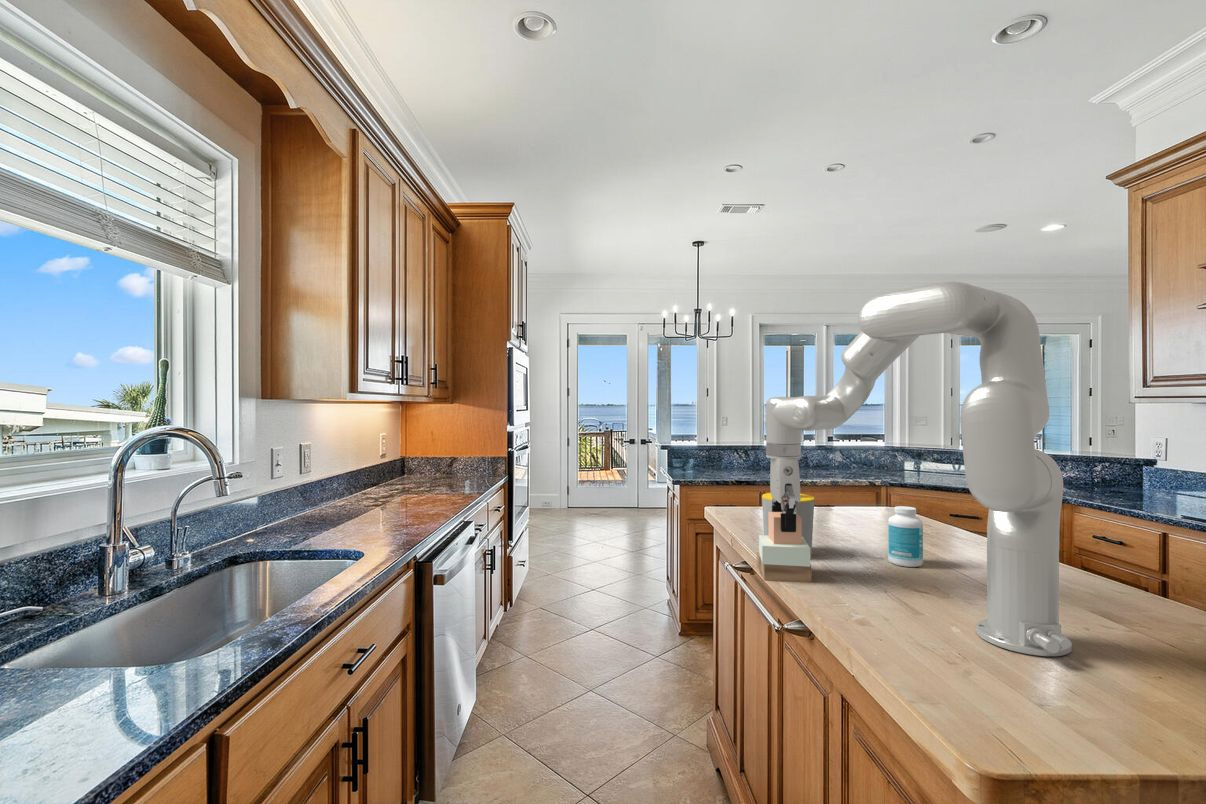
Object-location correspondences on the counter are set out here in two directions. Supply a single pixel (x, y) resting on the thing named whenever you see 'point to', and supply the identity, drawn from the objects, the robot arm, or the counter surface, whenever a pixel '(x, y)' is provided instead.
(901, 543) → the pill bottle
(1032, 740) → the counter surface
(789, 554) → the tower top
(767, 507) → the soap bottle
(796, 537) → the cube
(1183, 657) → the counter surface
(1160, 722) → the counter surface
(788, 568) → the tower base
